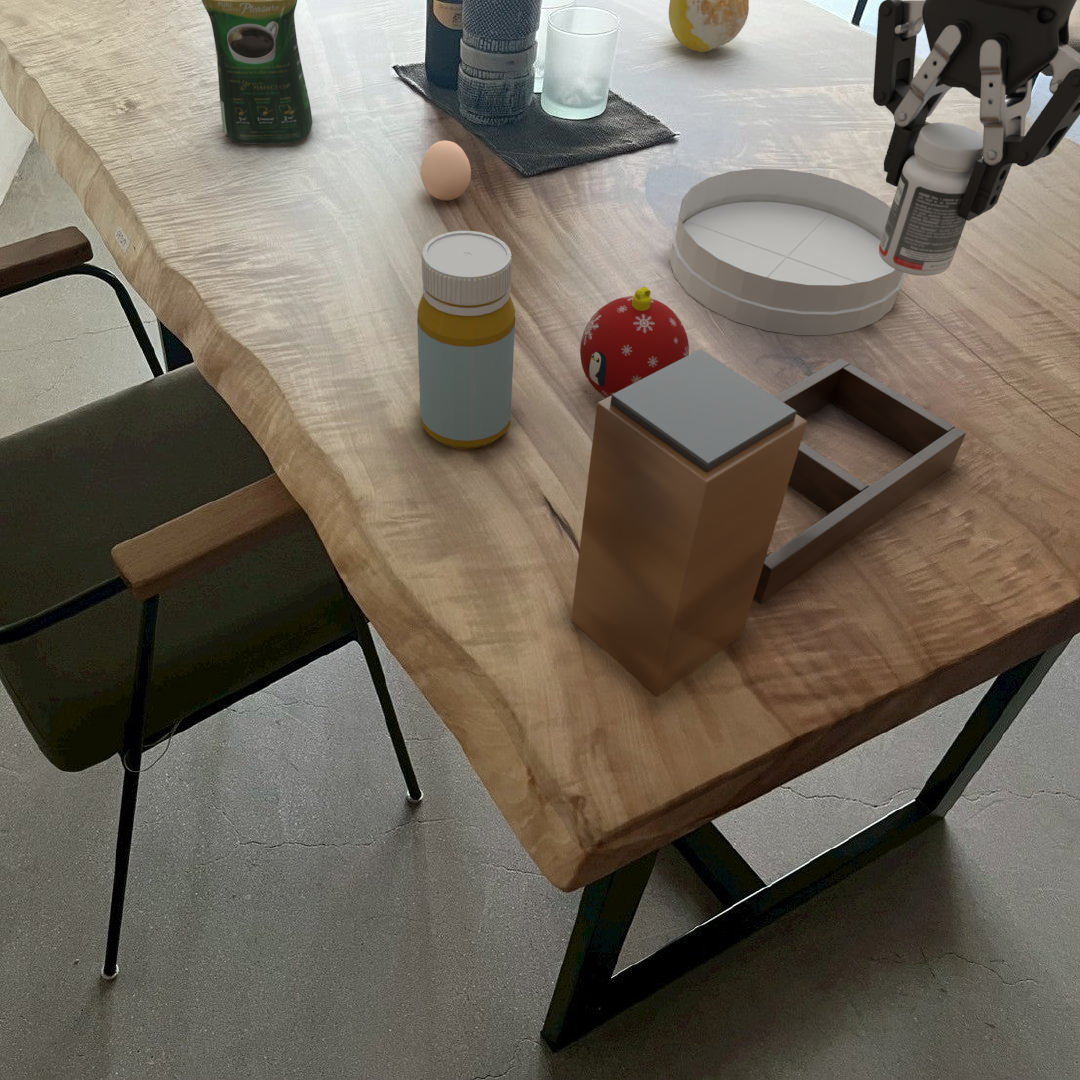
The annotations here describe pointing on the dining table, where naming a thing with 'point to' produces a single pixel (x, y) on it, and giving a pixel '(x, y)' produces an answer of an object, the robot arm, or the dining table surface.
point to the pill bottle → (931, 200)
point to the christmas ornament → (630, 342)
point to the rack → (840, 489)
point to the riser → (673, 545)
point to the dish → (785, 252)
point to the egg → (445, 170)
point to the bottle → (466, 339)
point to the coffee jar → (259, 71)
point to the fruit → (707, 22)
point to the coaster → (703, 409)
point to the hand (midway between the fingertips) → (934, 197)
